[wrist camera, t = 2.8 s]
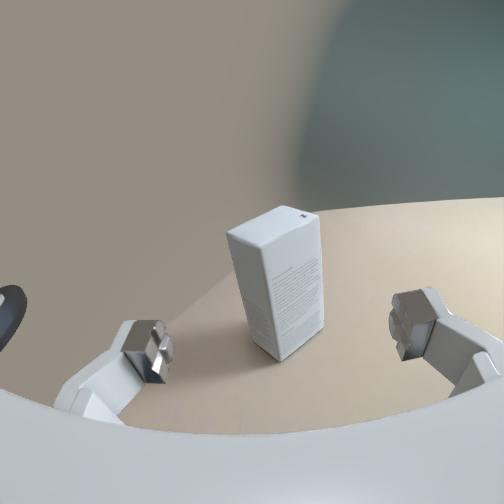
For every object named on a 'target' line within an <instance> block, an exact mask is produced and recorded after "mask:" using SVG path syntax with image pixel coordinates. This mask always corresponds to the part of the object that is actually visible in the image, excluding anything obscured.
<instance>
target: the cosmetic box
mask: <svg viewBox="0 0 504 504" xmlns="http://www.w3.org/2000/svg"><path fill="white" fill-rule="evenodd" d="M226 236H227V240H228V245H229V248H230V253H231V257H232V261H233V265H234V269H235V273H236V277H237V281H238V285H239V289H240V293H241V297H242V301H243V305H244V308H245V312H246V316H247V320H248V324H249V328H250V332H251V336H252V339H253V341H254V342H255V343H256V344H258V345H259V346H260V347H261V348H263V349H264V350H265V351H267V352H268V353H269V354H270V355H272V356H273V357H274V358H275V359H276V360H278V361H279V362H281V361H283V360H284V359H285V358H286V357H288V356H289V355H290V354H291V353H293V352H294V351H295V350H296V349H298V348H299V347H300V346H301V345H303V344H304V343H305V342H306V341H307V340H309V339H310V338H311V337H312V336H313V335H315V334H316V333H317V332H318V331H319V330H321V329H322V328H323V327H324V319H323V318H324V315H323V280H322V258H321V241H320V225H319V216H318V215H315V214H311V213H308V212H304V211H301V210H298V209H294V208H291V207H287V206H283V205H282V206H279V207H277V208H275V209H273V210H271V211H269V212H267V213H265V214H263V215H261V216H258V217H256V218H254V219H252V220H250V221H248V222H246V223H243V224H241V225H239V226H237V227H235V228H233V229H231V230H229V231H227V232H226Z"/></svg>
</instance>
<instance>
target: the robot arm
mask: <svg viewBox="0 0 504 504" xmlns="http://www.w3.org/2000/svg"><path fill="white" fill-rule="evenodd" d="M4 299H5V298H4V296H3V295H2V294H0V306H1V305H2V303H3V301H4ZM392 305H393V310H392V311H391V312H390V314H389V329H390V333H391V336H392V338H393V339H395V340H396V341H398V342H397V346H396V348H397V351H398V353H399V356H400V358H401V361H406V360H411V359H415V358H419V357H423V359H425V360H426V361H427V362H428V363H429V364H431V365H432V366H433V367H434V368H435V369H437V370H438V371H439V372H440V373H441V374H442V375H444V376H445V377H446V378H447V379H448V380H449V381H451V382H452V383H453V384H454V385H455V388H454V389H453V391H452V392H451V394H450V395H449V397H448V399H445V400H442V401H440V402H437V403H434V404H431V405H428V406H424V407H421V408H418V409H415V410H411V411H408V412H404V413H401V414H397V415H393V416H389V417H385V418H381V419H376V420H372V421H367V422H362V423H357V424H352V425H346V426H340V427H334V428H327V429H320V430H312V431H303V432H292V433H280V434H261V435H209V434H191V433H178V432H168V431H159V430H151V429H144V428H137V427H131V426H125V424H124V423H123V422H122V421H121V420H120V419H119V418H118V417H117V415H118V414H119V413H120V412H121V411H122V410H123V408H124V407H125V406H126V405H127V404H128V403H129V402H130V401H131V400H132V399H133V398H134V396H135V395H136V394H137V393H138V392H139V391H140V390H141V389H142V388H143V387H144V385H145V383H158V384H165V383H166V380H167V376H168V373H169V368H168V366H167V364H169V363H170V362H171V361H172V359H173V355H174V345H173V341H172V339H171V337H170V336H169V335H168V334H166V333H165V329H166V327H165V325H164V323H163V322H162V321H161V320H137V321H132V320H131V321H129V320H128V321H127V320H126V321H125V322H123V323H122V326H121V327H120V329H119V331H118V333H117V335H116V337H115V339H114V341H113V343H112V345H111V347H110V349H109V351H105V352H103V353H102V354H101V355H99V356H98V357H97V358H96V359H94V360H93V361H92V362H90V363H89V364H88V365H86V366H85V367H84V368H83V369H81V370H80V371H79V372H77V373H76V374H75V375H74V376H72V377H71V378H70V379H68V380H67V381H66V382H65V383H64V384H63V386H62V388H61V390H60V392H59V394H58V396H57V398H56V400H55V402H54V405H53V406H52V407H49V406H45V405H43V404H40V403H37V402H34V401H32V400H29V399H26V398H24V397H21V396H18V395H16V394H13V393H11V392H9V391H6V390H4V389H2V388H0V504H504V342H503V341H502V340H500V339H498V338H496V337H495V336H493V335H491V334H489V333H487V332H486V331H484V330H482V329H480V328H479V327H477V326H475V325H473V324H471V323H470V322H468V321H466V320H464V319H462V318H460V317H459V316H457V315H453V316H452V315H451V313H450V311H449V310H448V308H447V307H446V305H445V304H444V302H443V301H442V299H441V298H440V296H439V295H438V294H437V292H436V291H435V289H434V288H433V287H426V288H422V289H419V290H413V291H408V292H403V293H398V294H394V296H393V298H392Z"/></svg>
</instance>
